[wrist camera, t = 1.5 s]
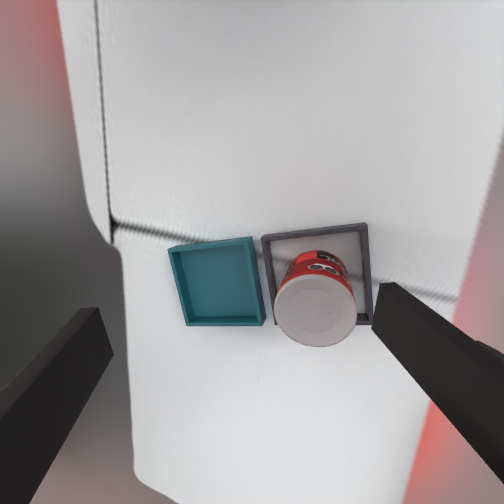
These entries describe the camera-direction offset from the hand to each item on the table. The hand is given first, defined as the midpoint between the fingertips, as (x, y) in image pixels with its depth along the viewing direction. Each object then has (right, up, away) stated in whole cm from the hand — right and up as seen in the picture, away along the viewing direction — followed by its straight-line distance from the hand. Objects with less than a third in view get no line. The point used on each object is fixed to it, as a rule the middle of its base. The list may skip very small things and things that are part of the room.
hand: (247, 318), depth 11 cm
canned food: (+9, 0, +22) cm, 24 cm away
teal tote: (-5, -2, +27) cm, 27 cm away
